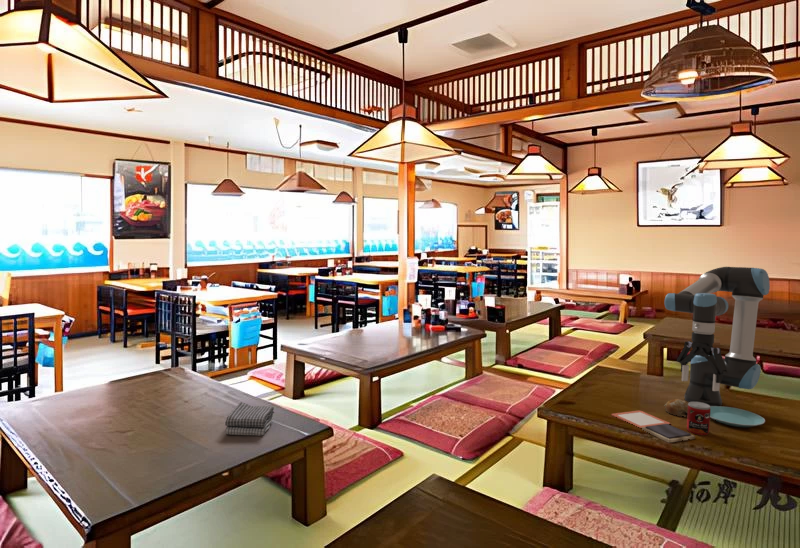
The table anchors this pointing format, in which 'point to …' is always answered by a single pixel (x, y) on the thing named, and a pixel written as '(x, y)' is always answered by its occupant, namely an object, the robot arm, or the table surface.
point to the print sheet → (639, 418)
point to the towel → (249, 420)
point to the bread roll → (677, 407)
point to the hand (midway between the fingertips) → (699, 385)
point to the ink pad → (668, 433)
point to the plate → (735, 416)
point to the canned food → (698, 418)
